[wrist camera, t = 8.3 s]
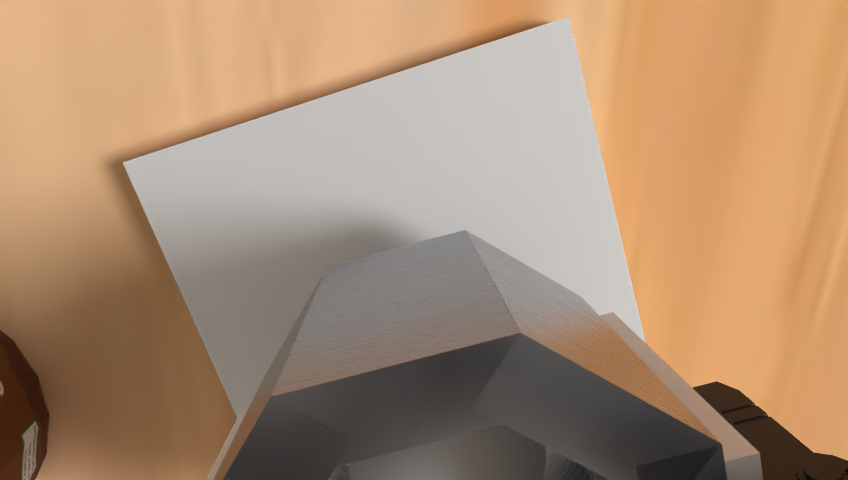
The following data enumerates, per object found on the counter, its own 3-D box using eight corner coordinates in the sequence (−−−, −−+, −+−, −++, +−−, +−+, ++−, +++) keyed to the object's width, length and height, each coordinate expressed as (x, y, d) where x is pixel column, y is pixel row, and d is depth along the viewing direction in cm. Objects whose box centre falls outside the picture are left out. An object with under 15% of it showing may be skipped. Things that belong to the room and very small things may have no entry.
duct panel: (140, 158, 18) (-22, 193, 11) (557, 22, 18) (661, -32, 11) (330, 592, 22) (299, 814, 15) (670, 490, 22) (797, 670, 15)
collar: (329, 564, 17) (285, 860, 11) (231, 290, 15) (95, 441, 8) (620, 491, 17) (765, 743, 10) (562, 204, 15) (699, 287, 8)
